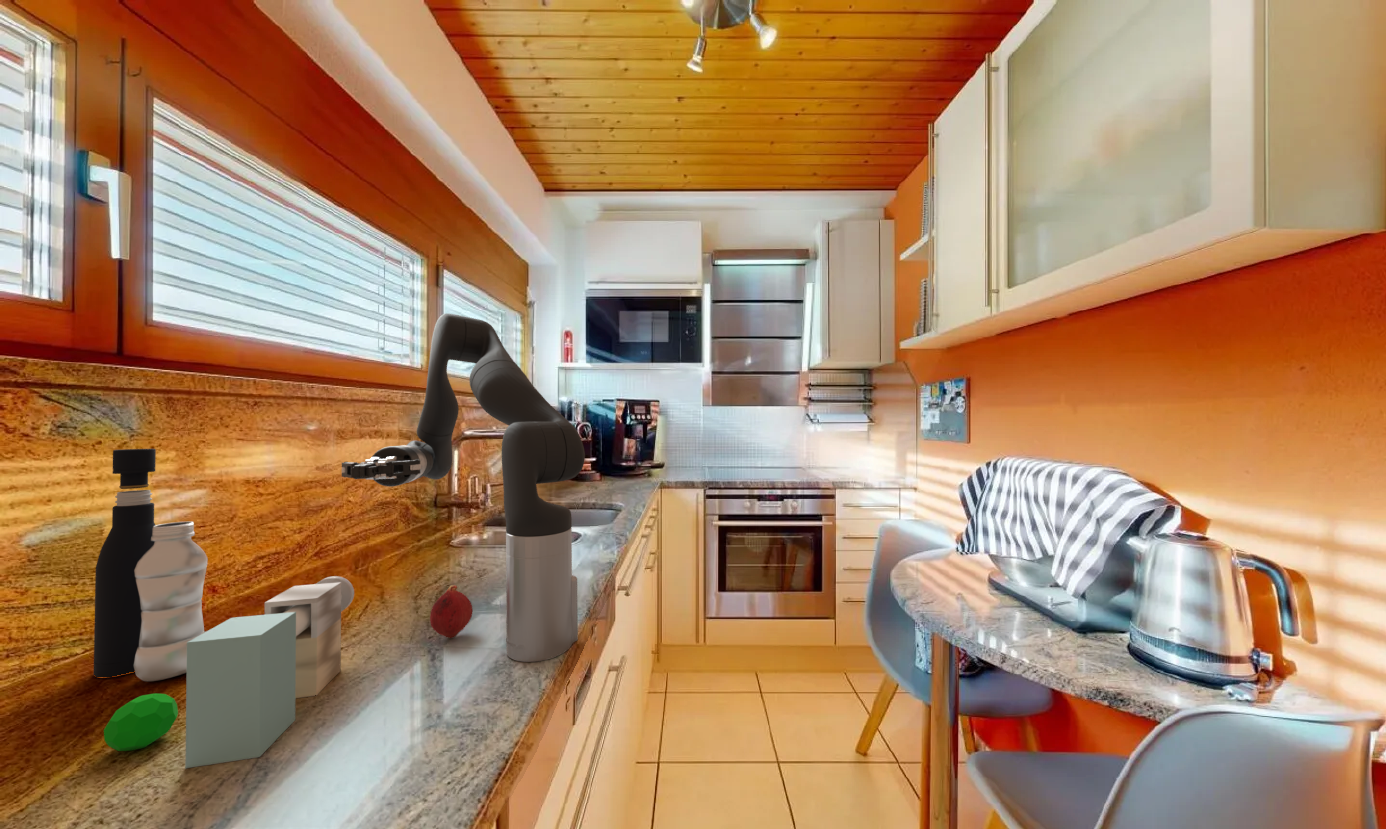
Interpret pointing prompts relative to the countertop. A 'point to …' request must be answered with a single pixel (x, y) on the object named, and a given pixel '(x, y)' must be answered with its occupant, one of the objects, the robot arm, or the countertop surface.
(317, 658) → the sleeve stand
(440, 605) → the onion
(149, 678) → the plastic bottle
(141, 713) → the polyhedron
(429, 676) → the countertop surface
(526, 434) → the robot arm
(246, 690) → the socket
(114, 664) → the wine bottle
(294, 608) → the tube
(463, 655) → the countertop surface
